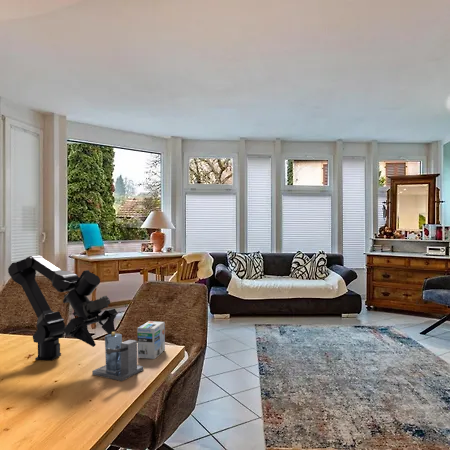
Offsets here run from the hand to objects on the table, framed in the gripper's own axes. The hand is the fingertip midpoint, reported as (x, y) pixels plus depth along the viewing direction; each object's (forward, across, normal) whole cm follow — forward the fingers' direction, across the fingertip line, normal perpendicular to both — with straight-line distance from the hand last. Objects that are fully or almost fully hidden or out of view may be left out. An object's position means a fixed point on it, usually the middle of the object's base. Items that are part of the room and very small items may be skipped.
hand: (105, 342), depth 126 cm
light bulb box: (+9, +19, +4) cm, 22 cm away
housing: (+8, 0, +3) cm, 8 cm away
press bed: (+10, -2, +2) cm, 11 cm away
